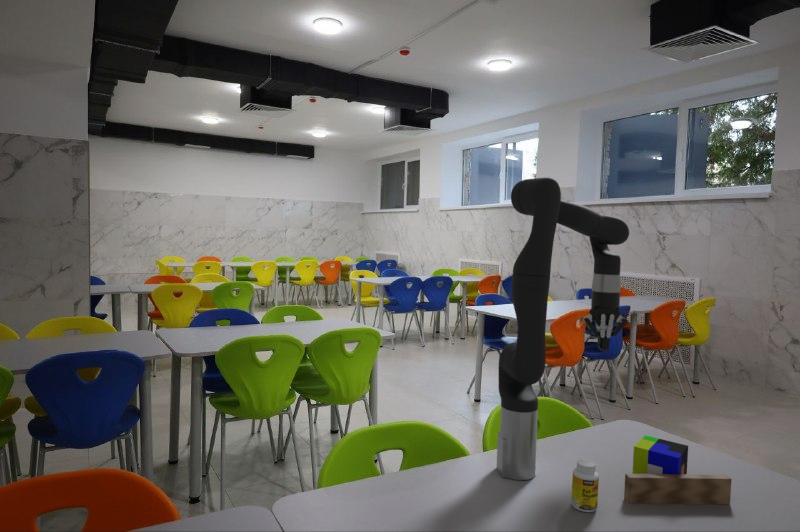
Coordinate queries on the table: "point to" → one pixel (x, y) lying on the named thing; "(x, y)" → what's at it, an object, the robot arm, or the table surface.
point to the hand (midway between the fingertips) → (603, 350)
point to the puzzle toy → (659, 457)
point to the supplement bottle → (585, 486)
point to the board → (677, 488)
